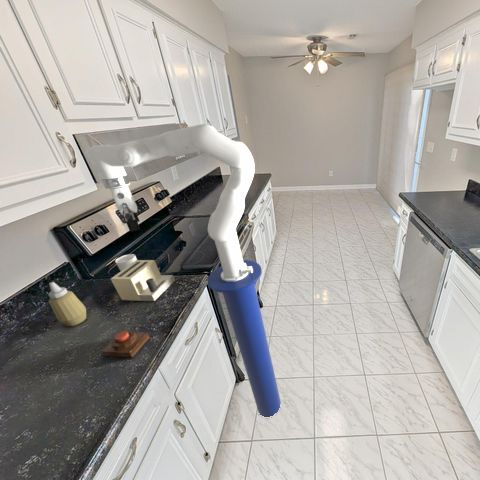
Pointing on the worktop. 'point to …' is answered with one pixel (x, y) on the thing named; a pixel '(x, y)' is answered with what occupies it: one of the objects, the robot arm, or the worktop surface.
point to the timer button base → (126, 345)
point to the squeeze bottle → (66, 305)
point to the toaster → (141, 281)
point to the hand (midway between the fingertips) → (135, 226)
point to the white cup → (125, 261)
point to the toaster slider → (151, 285)
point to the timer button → (122, 336)
